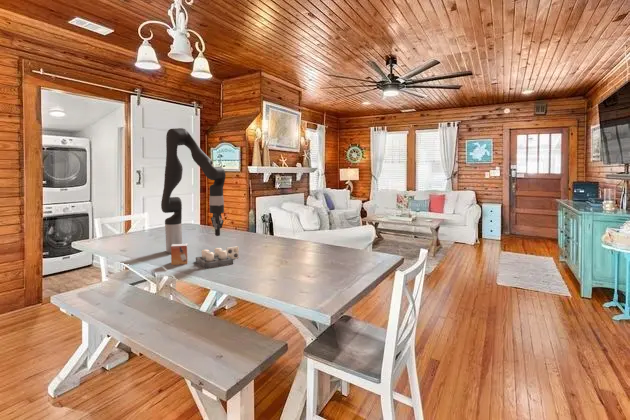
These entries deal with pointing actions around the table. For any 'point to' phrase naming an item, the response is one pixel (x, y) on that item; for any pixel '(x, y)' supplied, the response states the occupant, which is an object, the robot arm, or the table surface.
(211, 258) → the button
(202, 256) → the button
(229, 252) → the card
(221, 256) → the button
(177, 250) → the small box
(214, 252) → the button
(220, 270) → the table surface
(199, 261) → the board
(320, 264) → the table surface
